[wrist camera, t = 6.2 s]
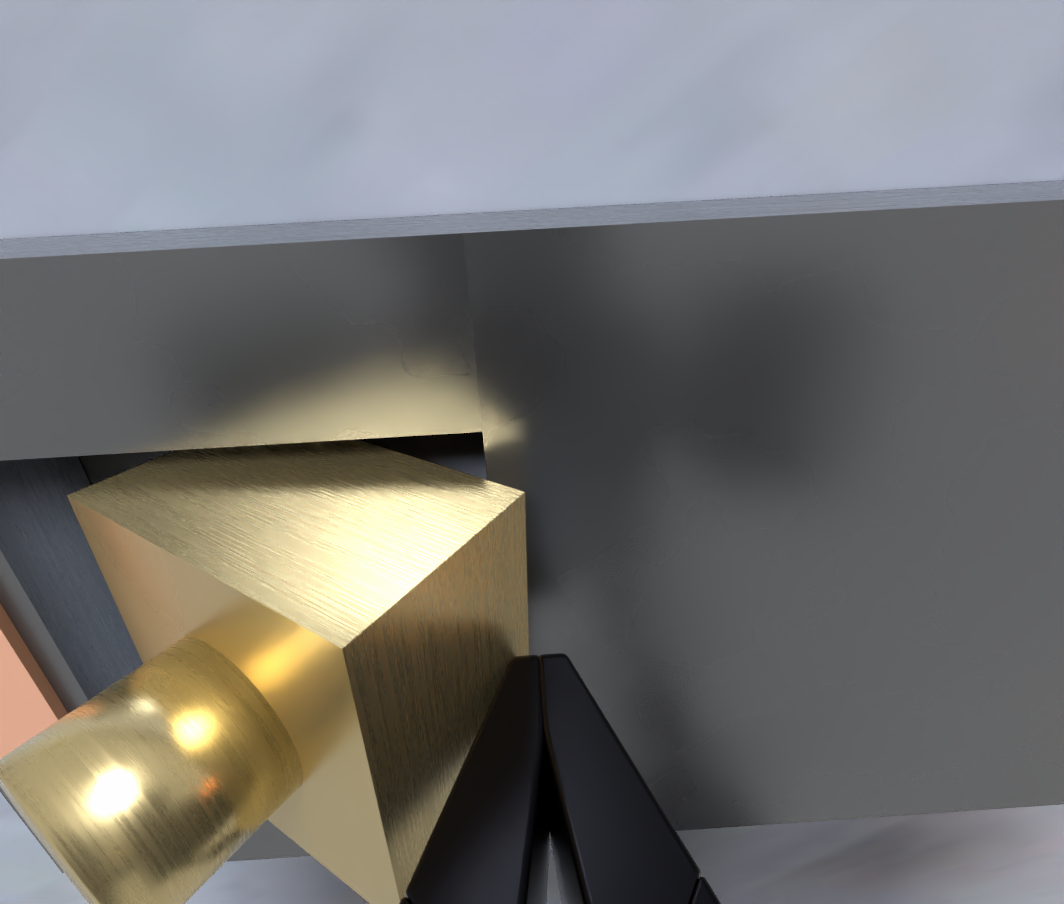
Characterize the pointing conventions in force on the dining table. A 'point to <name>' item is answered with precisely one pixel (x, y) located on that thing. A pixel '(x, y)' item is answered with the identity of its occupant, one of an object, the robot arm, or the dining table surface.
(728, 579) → the dark grey slab
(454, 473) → the gold block with knob
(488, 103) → the dining table surface
